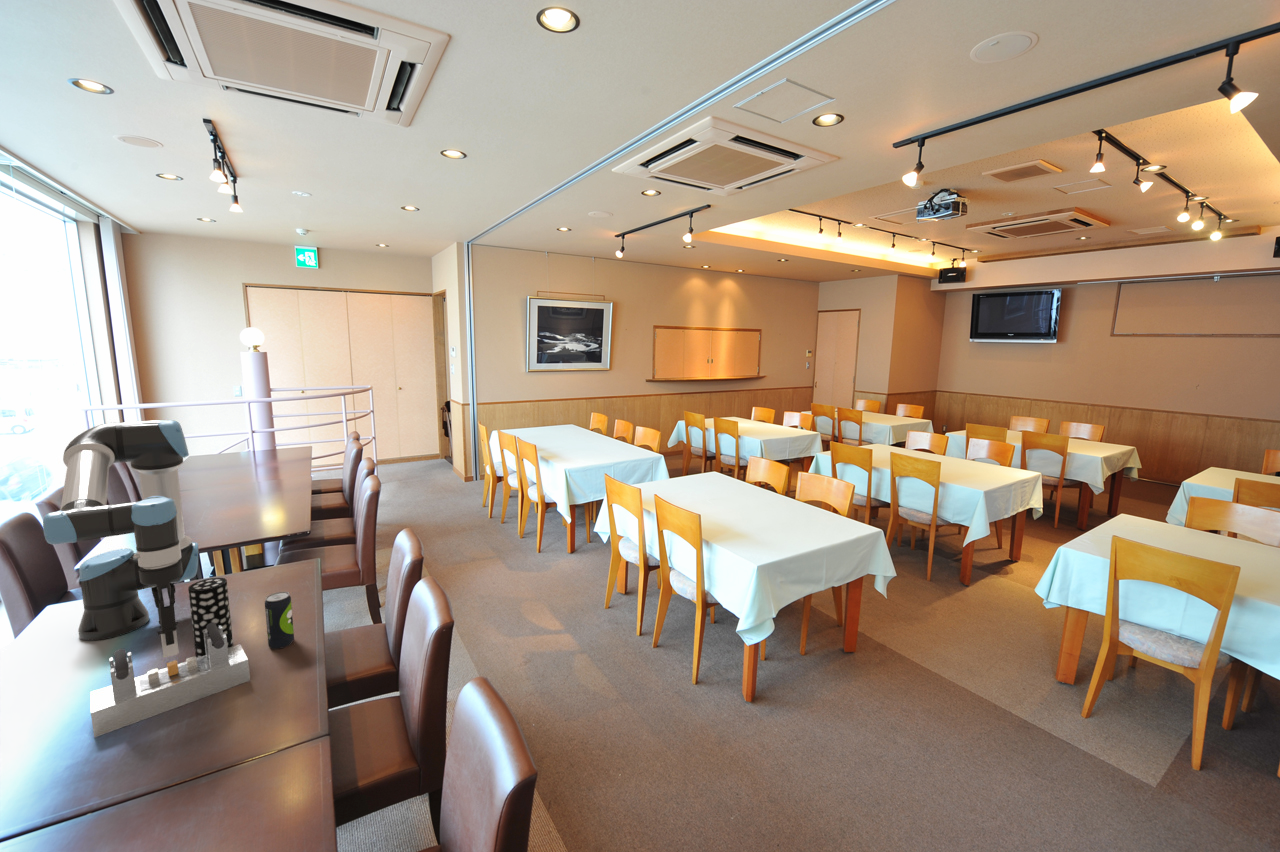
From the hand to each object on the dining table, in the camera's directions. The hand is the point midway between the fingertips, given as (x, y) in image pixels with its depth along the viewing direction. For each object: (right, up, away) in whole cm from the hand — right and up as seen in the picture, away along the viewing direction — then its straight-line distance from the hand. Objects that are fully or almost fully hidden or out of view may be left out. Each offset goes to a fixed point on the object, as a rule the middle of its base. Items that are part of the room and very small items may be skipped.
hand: (171, 654), depth 125 cm
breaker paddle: (0, -5, +1) cm, 5 cm away
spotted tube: (-7, -8, +22) cm, 24 cm away
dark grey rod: (+6, +1, +6) cm, 9 cm away
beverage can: (+10, -8, +25) cm, 28 cm away
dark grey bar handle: (-6, 0, -6) cm, 9 cm away
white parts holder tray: (0, -11, +2) cm, 11 cm away
